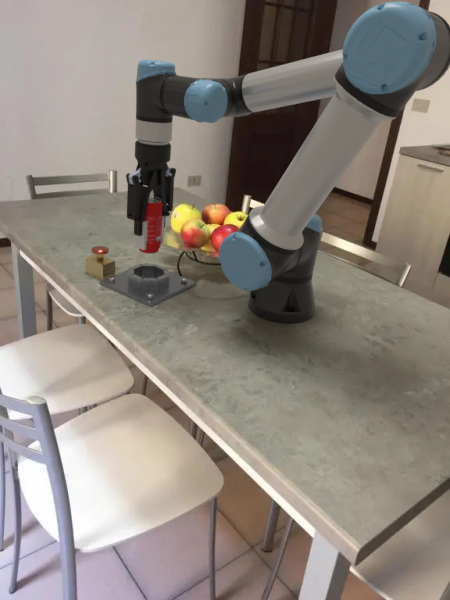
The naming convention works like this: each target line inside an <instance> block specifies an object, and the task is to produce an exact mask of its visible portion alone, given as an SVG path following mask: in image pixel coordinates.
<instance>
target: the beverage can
mask: <svg viewBox="0 0 450 600" xmlns="http://www.w3.org/2000/svg"><path fill="white" fill-rule="evenodd" d="M161 201H162V200H161V199H160V198H158V197H154V195H152V196H151V195H150V196H149V201H148V205H147V210H146V215H145V219H144V221H146V222H147V236H146V250H142V249H139V248H138V250H139V252H141V253H143V254H157V253H158V252H159V249H160V247H161V245H162V244H161V224H162V202H161ZM139 216H140V215H139Z"/></svg>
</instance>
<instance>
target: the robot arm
mask: <svg viewBox="0 0 450 600" xmlns="http://www.w3.org/2000/svg"><path fill="white" fill-rule="evenodd" d="M449 68H450V24H449V23H448V21H447V19H445V18H444V17H443V16H441V15H440V14H438V13H436V12H434V11H433V12H432V11H431V10H427V9H426V8H423V7H421V6H419V5H416V4H414V3H412V2H408V1H389V2H383V3H379V4H377V5H374V6H373V7H371V8H369V9H368V10H366V11H365V12H363V14H361V15H360V16H359V17H358V18H357V19H356V20H355V22H353V24H352V26H351V27H350V29H349V30H348V32H347V34H346V36H345V39H344V43H343V46H342V49H339V50H335V51H331V52H327V53H323V54H319V55H316V56H311V57H308V58H304V59H300V60H296V61H292V62H289V63H284V64H281V65H277V66H273V67H269V68H265V69H262V70H258V71H257V70H256V71H254V72H249V73H247V74H242V75H238V76H235V77H230V78H229V77H228V78H221V77H220V78H217V77H215V78H214V77H213V78H211V77H192V76H191V77H190V76H184V75H178V74H177V73H176V65H175V63H173V62H170V61H165V60H156V59H155V60H154V59H142V60H140V61H139V62H138V64H137V68H136V69H137V70H136V71H137V72H136V79H135V87H136V88H135V92H136V94H135V96H136V97H135V99H136V100H135V102H136V103H135V136H134V137H135V138H136V141H135V142H134V158H135V160H136V161H137V166H136V167H135V171H134V172H132V173H129V172H128V173H126V175H125V179H126V183H127V195H126V197H127V198H126V218H127V219H129V220H131V221H133V235H134V247H135V248H137V249H138V250H139V249H142V250H146V236H147V222H146V221H144V219H145V215H146V210H147V205H148V201H149V196H151V192H153V197H158V198H160V199H161V200H162V201H161V202H162V224H161V244H160V245H163V244H164V237H165V234H164V233H165V228H166V217H170V215H171V212H172V211H173V208H174V191H175V187H174V186H175V185H174V184H175V183H174V182H175V177H176V173H177V169H176V168H175V167H171V166H168V163H169V162H170V160H171V157H172V156H171V155H172V145H171V143H170V142H171V141H172V140H173V117H178V118H182V119H186V120H187V119H188V120H192V121H195V122H197V123H207V124H215V123H217V122H219V120H220V119H223V118H233V117H234V118H241V117H245V116H248V115H250V114H254V113H258V112H262V111H266V110H268V111H269V110H272V109H277V108H282V107H283V108H284V107H288V106H292V105H297V104H301V103H303V104H304V103H306V102H313V101H317V100H323V99H327V98H330V100H329V102H328V103H327V105H326V107H325V108H324V110H323V111H322V113H321V114H320V116H319V118H318V119H317V121H316V122H315V123H314V125H313V127H312V129H311V131H310V132H309V134H308V135H307V136H306V138H305V140H304V141H303V143H302V145H301V146H300V148H299V149H298V151H297V152H296V154H295V156H294V157H293V159H292V161H290V164H289V165H288V167H287V168H286V170H285V171H284V173H283V174H282V176H281V178H280V179H279V181H278V182H277V184H276V186H275V187H274V189H273V190H272V192H271V193H270V195H269V196H268V198H267V200H266V201H265V203H264V204H263V205H261V206H256V207H253V208H252V209H251V210H250V211H249V212H248V213H249V214H248V215H247V216H246V217H245V220H244V221H243V223H242V224H241V226H240V227H239V229H238V230H237V231H233V232H231V233H230V234H228V235H227V236H226V237H224V238H223V240H221V243H220V245H219V249H218V261H219V263H220V269H221V270H222V272H223V274H224V276H225V277H226V278H227V280H228V281H229V283H231V284H232V285H233V286H235V287H237V288H239V289H241V290H243V291H250V292H249V294H248V295H249V296H248V302H247V303H248V307H249V309H250V310H251V311H252V312H253V313H255V314H256V315H257V316H259V317H262V318H264V319H267V320H269V321H273V322H279V323H285V324H287V323H289V324H293V323H294V324H295V323H302V322H305V321H308V320H309V319H311V318H312V317H313V315H314V312H315V306H316V299H315V296H314V289H313V287H314V286H313V275H314V270H315V265H316V260H317V255H318V250H319V249H318V248H319V244H320V239H321V235H322V233H323V231H322V228H323V227H322V226H323V220H322V217H320V216H319V215H318V214H317V211H318V210H319V209H320V207H322V205H323V203H324V202H325V201H326V199H327V198H328V196H330V195H329V194H331V192H332V191H333V189H334V188H335V187H336V185H337V184H338V182H339V181H340V180H341V178H342V177H343V175H344V174H346V171H347V170H348V168H349V167H350V166H351V164H352V163H353V162H354V161H355V159H356V157H357V156H358V155H359V154H360V152H361V150H362V149H363V148H364V146H366V145H365V144H367V142H368V141H369V139H370V138H371V136H372V135H373V134H374V132H375V131H376V130H377V128H378V127H379V126H380V124H381V123H383V122H387V121H391V120H395V119H396V118H397V117H398V116H399V115H400V113H401V112H402V110H403V109H405V106H406V105H407V104H408V102H409V101H410V99H412V97H413V96H414V94H415V93H416V92H418V91H423V90H425V89H428V88H429V87H431V86H433V85H434V84H436V83H437V82H438V81H440V80H441V79H442V77H443V76H445V74H446V72H447V71H448V70H449ZM139 215H140V216H139Z"/></svg>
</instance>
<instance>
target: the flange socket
mask: <svg viewBox="0 0 450 600" xmlns="http://www.w3.org/2000/svg"><path fill="white" fill-rule="evenodd" d="M99 285H101V286H103V287H105V288H108V289H110V290H113V291H114V292H117V293H119V294H121V295H124V296H126V297H128V298H130V299H133V300H135V301H137V302H139V303H142V304H144V305H146V306H148V307H150V308H151V307H153V306H155V305H158V304H160V303H161V302H164V301H165V300H168V299H170V298H171V297H174V296H176V295H178V294H180V293H183V292H184V291H186V290H188V289H191V288H193V287H195V286H196V281H194V280H192V279H188V278H187V277H183V276H181V275H179V274H176V273H174V272H172V271H169V269H168V268H167V267H163V266H161V265H160V264H156V263H148V262H145V263H138V264H136V265H133V266H130V267H129V268H128V269H127V270H124V271H121V272H119V273H117V274H116V273H115V275H113V276H111V277H108V278H106V279H103V280H101V279H99Z"/></svg>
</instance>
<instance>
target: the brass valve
mask: <svg viewBox="0 0 450 600" xmlns="http://www.w3.org/2000/svg"><path fill="white" fill-rule="evenodd" d="M109 250H110V249H109V248H108V247H107V246H102V245H97V246H92V247H91V253H92V254H93V255H90V256H86V257H85V258H84V260H85V261H84V264H85V274H88V275H90V276H91V277H94V278H97V279H99V280H103V279H106V278H108V277H111V276H113V275H116V260H114V259H112V258H109V257H107V256H105V255H108V253H109V252H110V251H109Z"/></svg>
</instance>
